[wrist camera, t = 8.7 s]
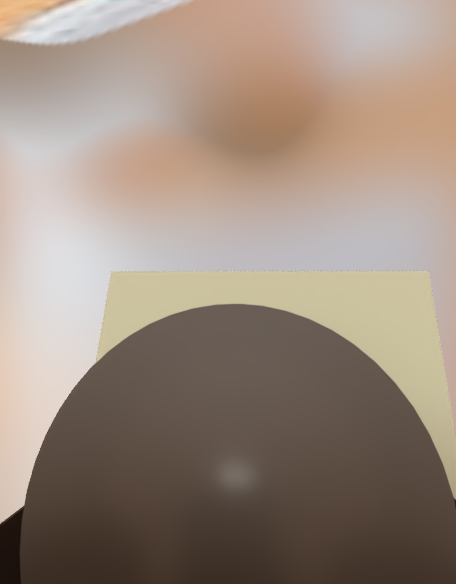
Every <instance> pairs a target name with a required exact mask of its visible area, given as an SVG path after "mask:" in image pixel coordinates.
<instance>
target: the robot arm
mask: <svg viewBox="0 0 456 584" xmlns="http://www.w3.org/2000/svg"><path fill="white" fill-rule="evenodd" d="M454 502H455V507H456V499H455V498H454ZM23 511H24V506H23V507H22V508H20V509H19V510H18V511H16V512H15V513H14V514H13V515H11V516H10V517H9V518H7V519H6V520H5V521H3V522H2V523H1V524H0V584H21V574H20V541H21V526H22V517H23Z"/></svg>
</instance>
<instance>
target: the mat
mask: <svg viewBox="0 0 456 584" xmlns="http://www.w3.org/2000/svg"><path fill="white" fill-rule="evenodd" d="M217 304H249V305H260V306H266V307H271V308H275V309H280V310H285V311H288V312H291V313H294V314H297V315H300V316H303V317H305V318H308V319H311V320H313V321H315V322H317V323H319V324H321V325H323V326H325V327H327V328H329V329H331V330H333V331H334V332H336V333H338V334H339V335H341V336H342V337H344V338H345V339H347V340H348V341H350V342H351V343H353V344H354V345H356V346H357V347H358V348H359V349H360V350H362V351H363V352H364V353H365V354H366V355H368V356H369V357H370V358H371V359H372V360H374V361H375V362H376V363H377V364H378V365H379V366H380V367H381V368H382V369H383V370H384V371H385V372H386V374H387V375H388V376H389V377H390V378H391V379H392V380H393V381H394V382H395V383H396V384H397V386H398V387H399V388H400V390H401V391H402V392H403V394H404V395H405V396H406V398H407V399H408V400H409V402H410V403H411V404H412V405H413V407H414V409H415V410H416V412H417V414H418V415H419V417H420V419H421V420H422V422H423V424H424V425H425V427H426V429H427V430H428V432H429V434H430V436H431V438H432V441H433V443H434V445H435V447H436V449H437V452H438V454H439V456H440V458H441V461H442V463H443V466H444V469H445V472H446V475H447V478H448V481H449V484H450V487H451V491H452V494H453V497H454V498H455V499H456V434H455V428H454V422H453V416H452V410H451V404H450V398H449V392H448V386H447V380H446V374H445V368H444V362H443V356H442V349H441V343H440V338H439V331H438V326H437V320H436V314H435V307H434V301H433V295H432V289H431V283H430V277H429V272H428V271H233V272H232V271H222V272H221V271H220V272H219V271H205V272H204V271H203V272H202V271H199V272H198V271H194V272H193V271H191V272H190V271H187V272H186V271H183V272H179V271H178V272H177V271H175V272H174V271H171V272H170V271H168V272H166V271H165V272H164V271H161V272H160V271H159V272H158V271H151V272H111V277H110V283H109V288H108V294H107V300H106V306H105V312H104V318H103V323H102V329H101V335H100V341H99V347H98V352H97V358H96V362H98V361H99V360H100V359H101V358H102V357H103V356H104V355H105V354H106V353H107V352H108V351H109V350H111V349H112V348H113V347H115V346H116V345H117V344H119V343H120V342H121V341H123V340H124V339H125V338H127V337H128V336H129V335H131V334H133V333H135V332H136V331H138V330H140V329H142V328H143V327H145V326H147V325H148V324H150V323H153V322H155V321H157V320H160V319H162V318H164V317H167V316H169V315H172V314H175V313H179V312H182V311H185V310H189V309H192V308H198V307H204V306H210V305H217Z"/></svg>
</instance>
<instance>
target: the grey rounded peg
mask: <svg viewBox="0 0 456 584" xmlns="http://www.w3.org/2000/svg"><path fill="white" fill-rule="evenodd" d="M20 574H21V584H456V507H455V502H454V497H453V494H452V491H451V487H450V484H449V481H448V478H447V475H446V472H445V469H444V466H443V463H442V461H441V458H440V456H439V454H438V452H437V449H436V447H435V445H434V443H433V441H432V438H431V436H430V434H429V432H428V430H427V429H426V427H425V425H424V424H423V422H422V420H421V419H420V417H419V415H418V414H417V412H416V410H415V409H414V407H413V405H412V404H411V403H410V402H409V400H408V399H407V398H406V396H405V395H404V394H403V392H402V391H401V390H400V388H399V387H398V386H397V384H396V383H395V382H394V381H393V380H392V379H391V378H390V377H389V376H388V375H387V374H386V372H385V371H384V370H383V369H382V368H381V367H380V366H379V365H378V364H377V363H376V362H375V361H374V360H372V359H371V358H370V357H369V356H368V355H366V354H365V353H364V352H363V351H362V350H360V349H359V348H358V347H357V346H356V345H354V344H353V343H351V342H350V341H348V340H347V339H345V338H344V337H342V336H341V335H339V334H338V333H336V332H334V331H333V330H331V329H329V328H327V327H325V326H323V325H321V324H319V323H317V322H315V321H313V320H311V319H308V318H305V317H303V316H300V315H297V314H294V313H291V312H288V311H285V310H280V309H275V308H271V307H266V306H260V305H249V304H217V305H210V306H204V307H198V308H192V309H189V310H185V311H182V312H179V313H175V314H172V315H169V316H167V317H164V318H162V319H160V320H157V321H155V322H153V323H150V324H148V325H147V326H145V327H143V328H142V329H140V330H138V331H136V332H135V333H133V334H131V335H129V336H128V337H127V338H125V339H124V340H123V341H121V342H120V343H119V344H117V345H116V346H115V347H113V348H112V349H111V350H109V351H108V352H107V353H106V354H105V355H104V356H103V357H102V358H101V359H100V360H99V361H98V362H96V364H94V365H93V366H92V367H91V368H90V369H89V371H88V372H87V373H86V374H85V375H84V377H83V378H82V379H81V380H80V381H79V382H78V384H77V385H76V386H75V387H74V389H73V390H72V391H71V393H70V394H69V396H68V397H67V399H66V400H65V402H64V403H63V405H62V406H61V408H60V409H59V411H58V413H57V415H56V417H55V419H54V420H53V422H52V424H51V427H50V428H49V430H48V432H47V434H46V436H45V438H44V441H43V443H42V446H41V448H40V451H39V454H38V456H37V458H36V461H35V465H34V468H33V471H32V475H31V478H30V482H29V486H28V489H27V494H26V500H25V505H24V511H23V517H22V526H21V541H20Z"/></svg>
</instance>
